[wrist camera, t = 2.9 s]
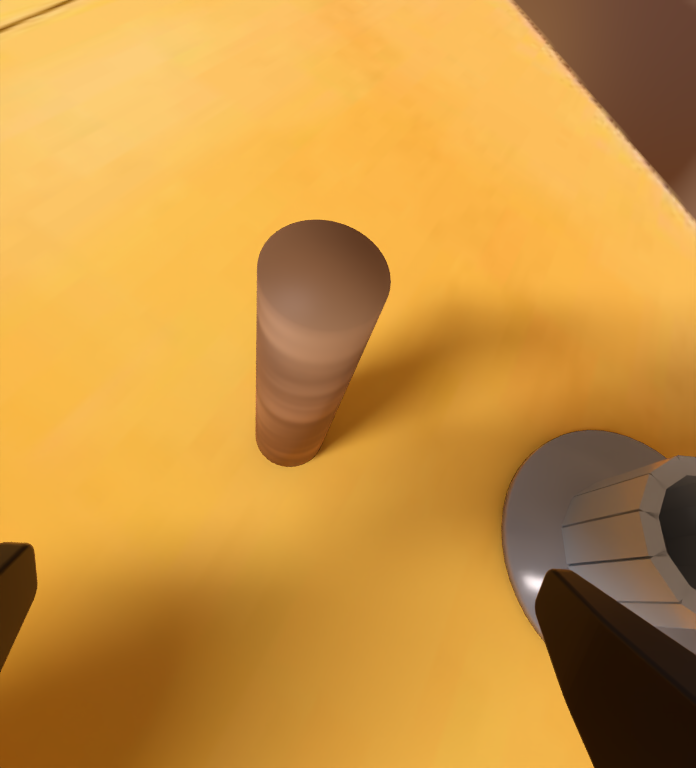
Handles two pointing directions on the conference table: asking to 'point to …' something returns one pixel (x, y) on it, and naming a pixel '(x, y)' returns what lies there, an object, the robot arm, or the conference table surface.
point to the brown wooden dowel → (311, 330)
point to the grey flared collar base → (607, 526)
